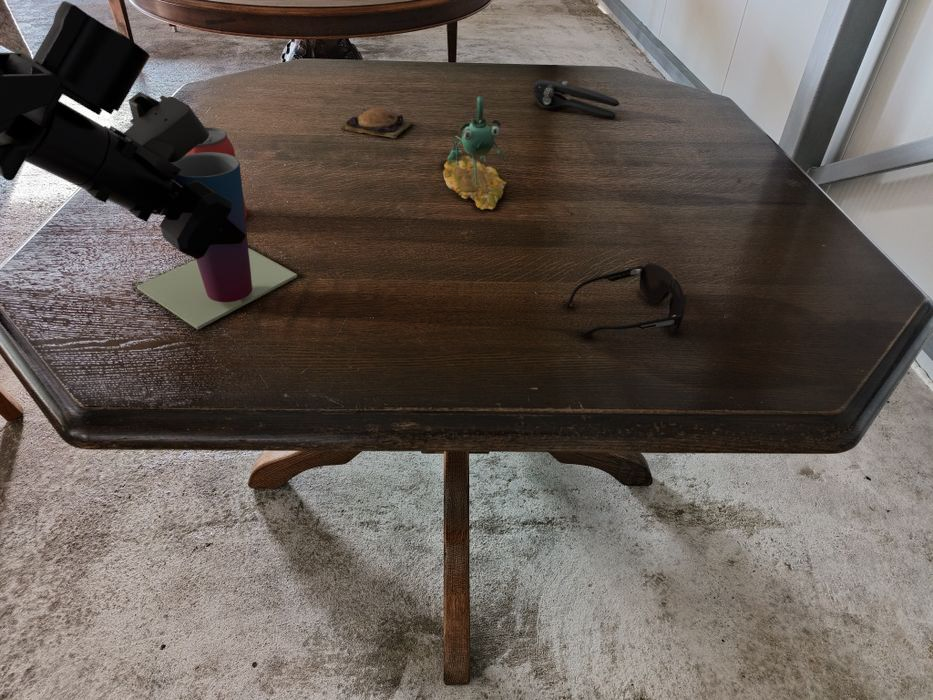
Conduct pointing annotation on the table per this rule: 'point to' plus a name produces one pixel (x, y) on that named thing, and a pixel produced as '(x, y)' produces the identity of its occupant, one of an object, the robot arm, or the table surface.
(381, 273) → the table surface
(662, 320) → the sunglasses
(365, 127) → the bread roll
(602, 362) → the table surface
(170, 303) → the mat
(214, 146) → the beer can
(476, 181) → the frog figurine
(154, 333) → the table surface
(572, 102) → the can opener
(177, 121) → the robot arm
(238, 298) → the cup
